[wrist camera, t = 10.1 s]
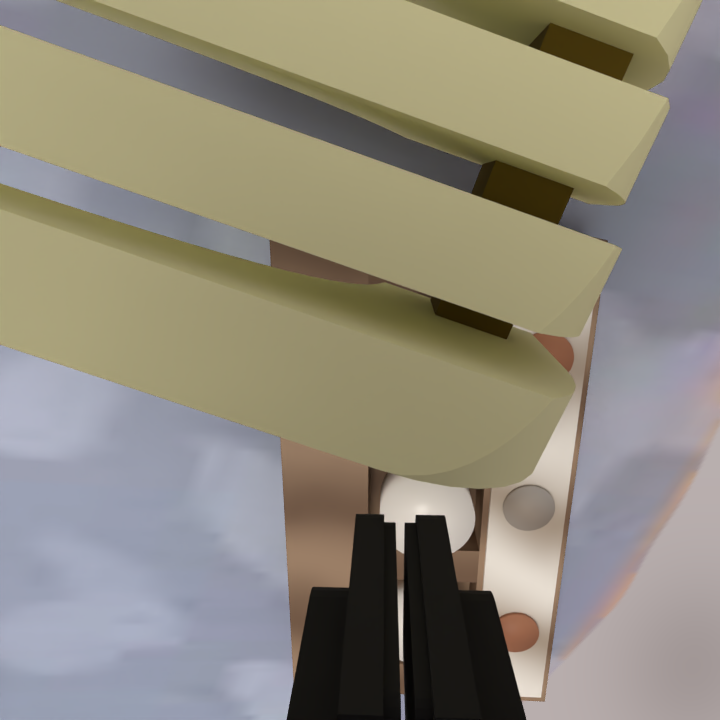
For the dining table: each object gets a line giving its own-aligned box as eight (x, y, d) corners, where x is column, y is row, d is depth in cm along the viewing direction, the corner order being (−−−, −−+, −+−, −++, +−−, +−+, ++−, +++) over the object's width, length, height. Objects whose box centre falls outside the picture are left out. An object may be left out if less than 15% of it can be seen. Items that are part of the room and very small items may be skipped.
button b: (380, 453, 26) (379, 475, 24) (471, 456, 26) (478, 478, 24) (380, 530, 27) (379, 557, 25) (466, 533, 27) (472, 560, 25)
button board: (283, 234, 25) (267, 240, 22) (582, 234, 24) (611, 241, 21) (302, 645, 33) (292, 695, 30) (531, 656, 32) (546, 708, 29)
